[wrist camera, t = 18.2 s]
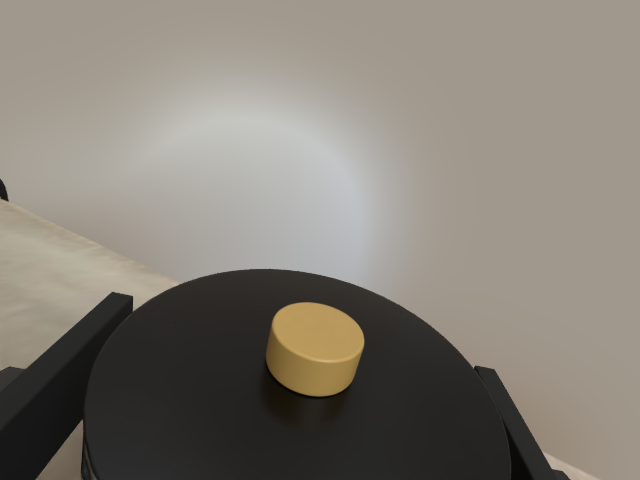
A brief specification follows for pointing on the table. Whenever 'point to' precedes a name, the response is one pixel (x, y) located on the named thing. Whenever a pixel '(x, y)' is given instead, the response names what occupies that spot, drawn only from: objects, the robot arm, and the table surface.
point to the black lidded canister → (285, 389)
